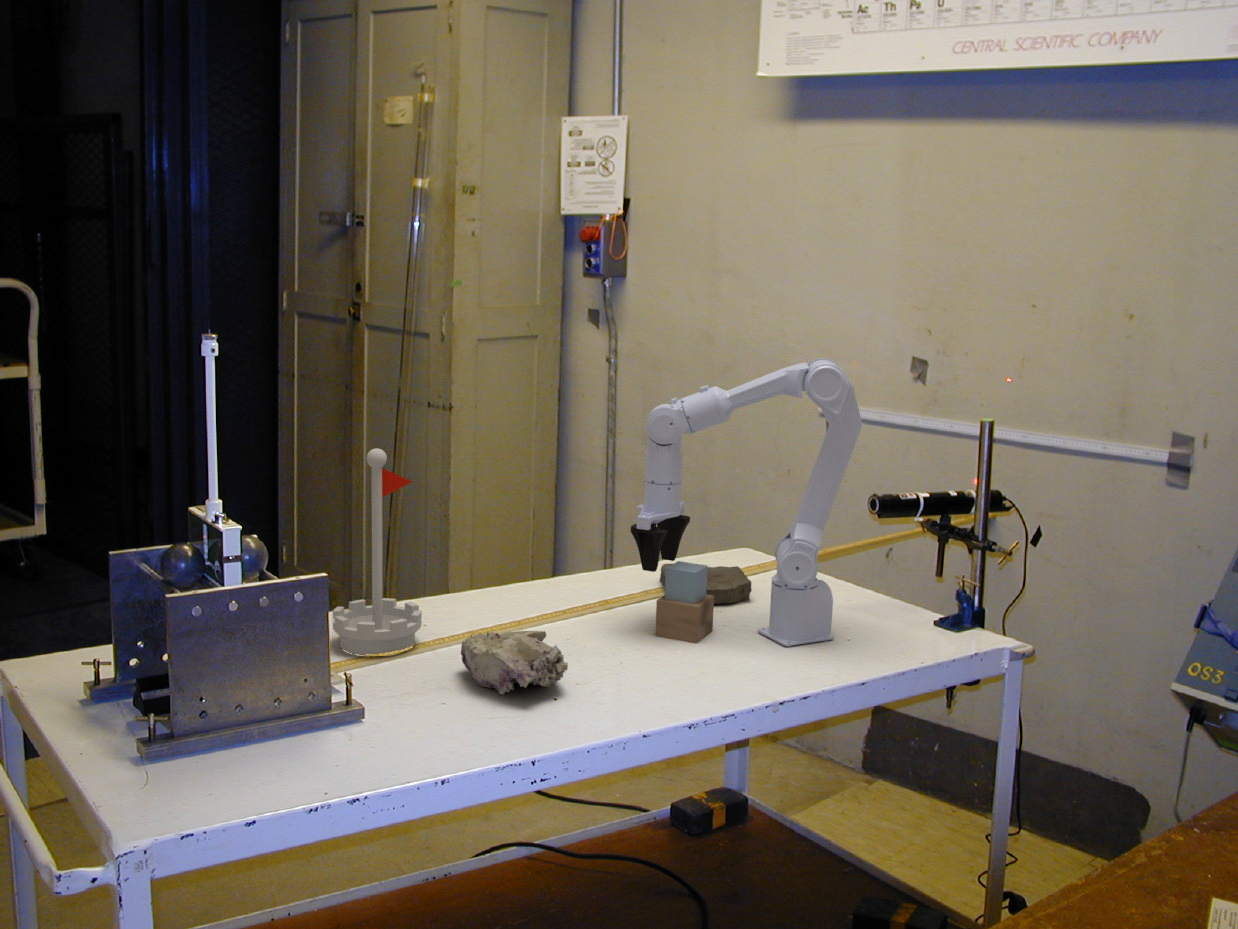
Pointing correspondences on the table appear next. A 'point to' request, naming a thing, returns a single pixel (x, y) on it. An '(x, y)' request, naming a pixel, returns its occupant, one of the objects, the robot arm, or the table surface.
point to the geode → (512, 660)
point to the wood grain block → (684, 619)
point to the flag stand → (378, 586)
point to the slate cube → (686, 582)
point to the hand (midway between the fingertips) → (659, 565)
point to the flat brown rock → (722, 583)
